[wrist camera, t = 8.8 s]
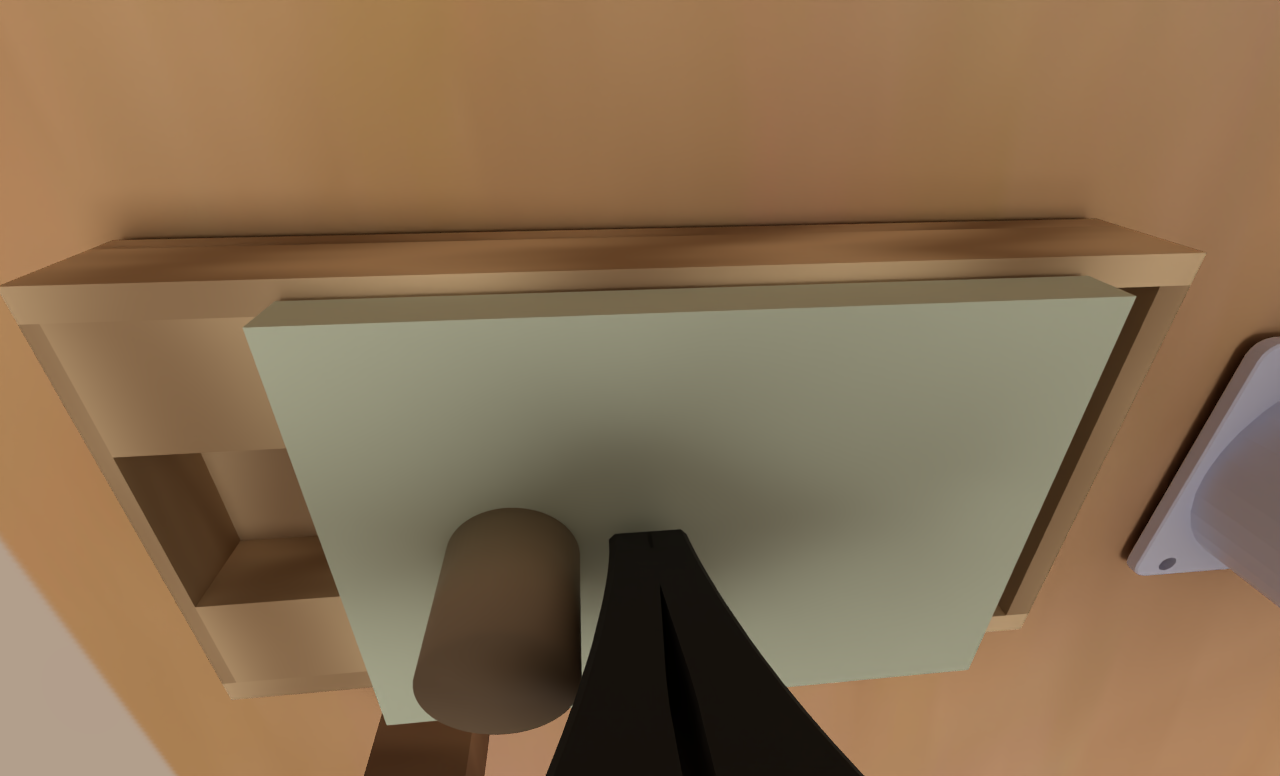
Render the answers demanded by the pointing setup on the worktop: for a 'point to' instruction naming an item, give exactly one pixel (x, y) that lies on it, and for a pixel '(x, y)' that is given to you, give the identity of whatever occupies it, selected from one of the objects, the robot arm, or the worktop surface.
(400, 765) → the dark brown rectangular block
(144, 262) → the shallow wooden tray
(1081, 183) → the worktop surface
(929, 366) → the lid
